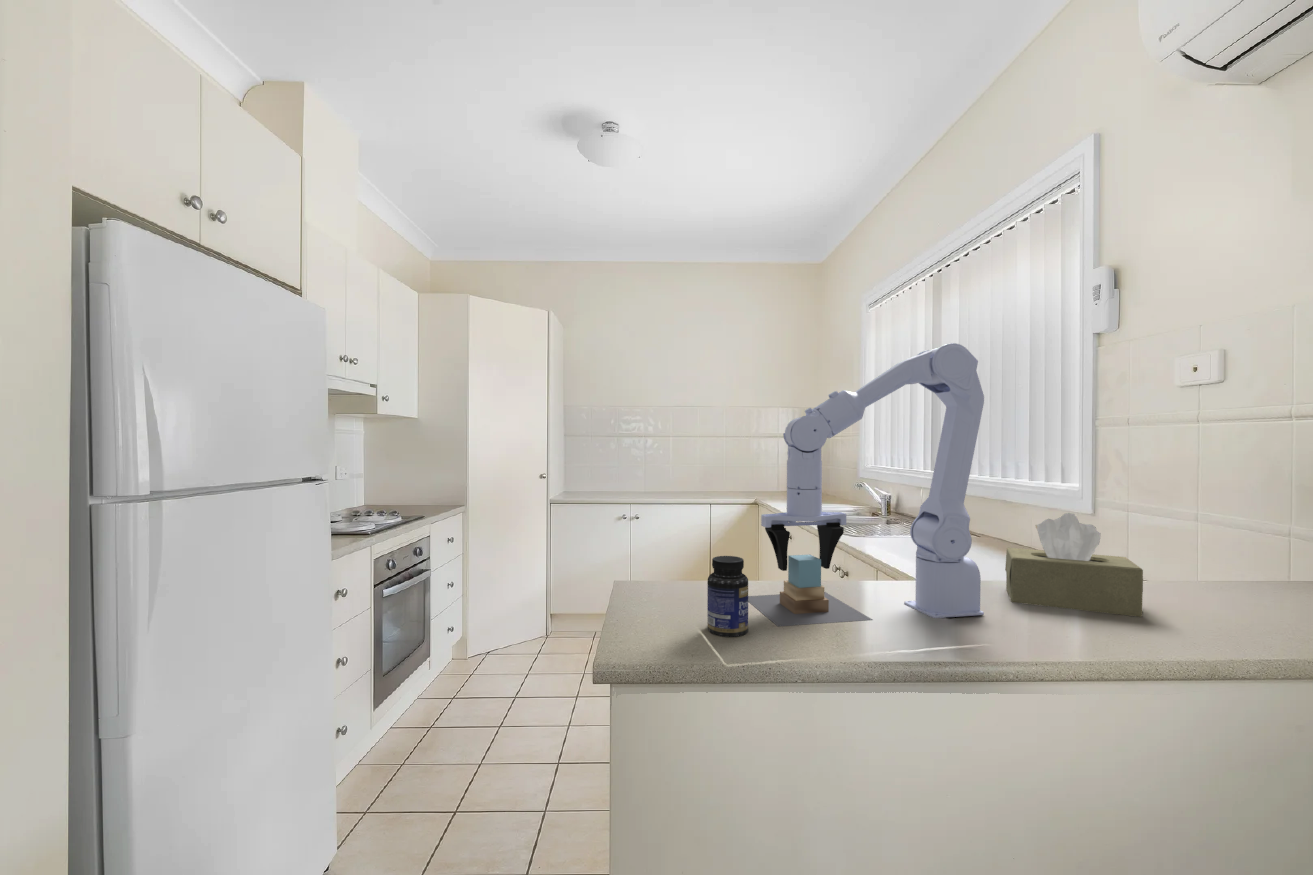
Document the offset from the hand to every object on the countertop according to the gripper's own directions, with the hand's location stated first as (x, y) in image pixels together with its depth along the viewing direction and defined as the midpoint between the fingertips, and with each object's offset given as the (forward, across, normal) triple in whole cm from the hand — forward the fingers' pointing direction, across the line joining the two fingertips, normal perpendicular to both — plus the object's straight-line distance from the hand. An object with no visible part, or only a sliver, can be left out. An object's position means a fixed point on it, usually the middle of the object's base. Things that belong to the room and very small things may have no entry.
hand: (803, 568), depth 98 cm
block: (+3, 0, 0) cm, 3 cm away
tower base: (+7, 0, 0) cm, 7 cm away
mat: (+7, 0, 0) cm, 7 cm away
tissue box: (+7, -48, +5) cm, 49 cm away
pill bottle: (+7, +16, +8) cm, 19 cm away
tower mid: (+5, 0, 0) cm, 5 cm away
